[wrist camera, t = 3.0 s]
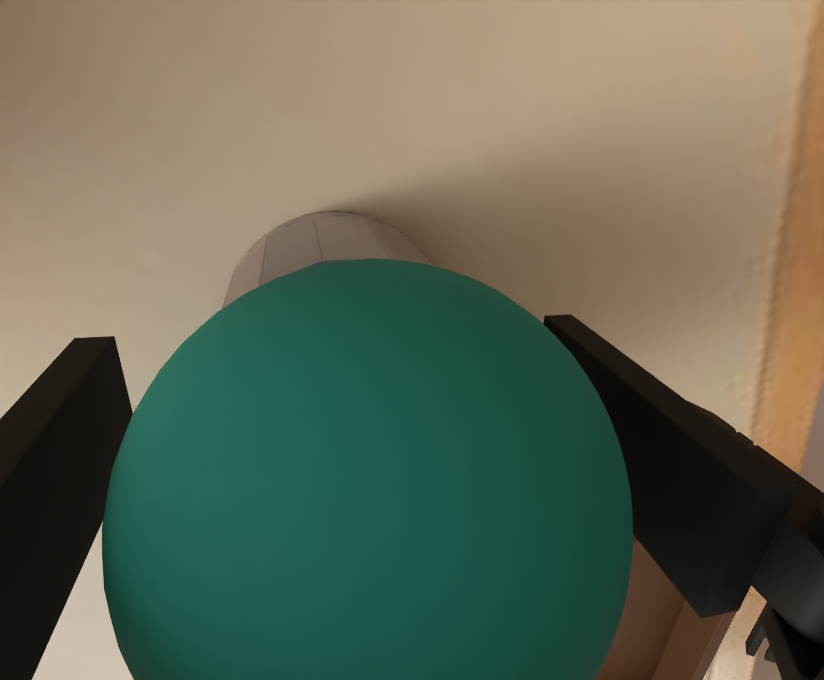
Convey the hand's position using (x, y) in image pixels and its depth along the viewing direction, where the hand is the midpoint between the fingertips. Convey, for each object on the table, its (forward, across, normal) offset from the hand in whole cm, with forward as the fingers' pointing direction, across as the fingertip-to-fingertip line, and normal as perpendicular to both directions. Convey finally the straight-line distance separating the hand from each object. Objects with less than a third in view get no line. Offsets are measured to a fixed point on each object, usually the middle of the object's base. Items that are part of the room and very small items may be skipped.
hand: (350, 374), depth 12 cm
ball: (-4, 0, 0) cm, 4 cm away
